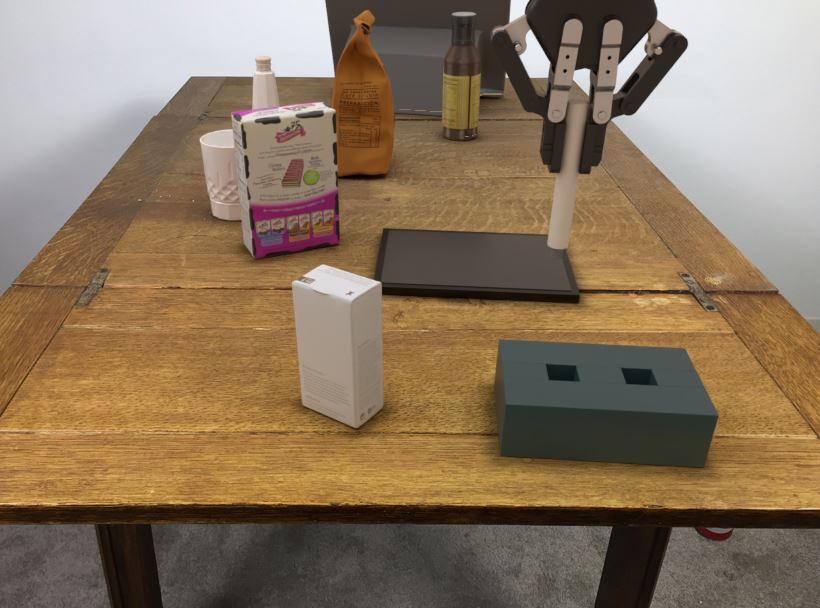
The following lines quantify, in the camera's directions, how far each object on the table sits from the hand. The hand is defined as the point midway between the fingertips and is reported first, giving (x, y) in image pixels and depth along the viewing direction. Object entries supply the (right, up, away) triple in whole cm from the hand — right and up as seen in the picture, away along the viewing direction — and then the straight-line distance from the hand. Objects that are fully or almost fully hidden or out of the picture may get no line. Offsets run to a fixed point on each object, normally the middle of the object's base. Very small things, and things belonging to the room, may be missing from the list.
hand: (568, 169), depth 57 cm
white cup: (-32, +4, +48) cm, 58 cm away
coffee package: (-16, +14, +64) cm, 67 cm away
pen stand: (+4, -20, +8) cm, 21 cm away
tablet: (-3, -4, +33) cm, 34 cm away
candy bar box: (-24, -1, +39) cm, 46 cm away
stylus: (0, -6, +4) cm, 7 cm away
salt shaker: (-33, +28, +87) cm, 97 cm away
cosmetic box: (-17, -18, +10) cm, 27 cm away
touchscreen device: (-6, +34, +98) cm, 105 cm away
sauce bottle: (+1, +22, +78) cm, 81 cm away
